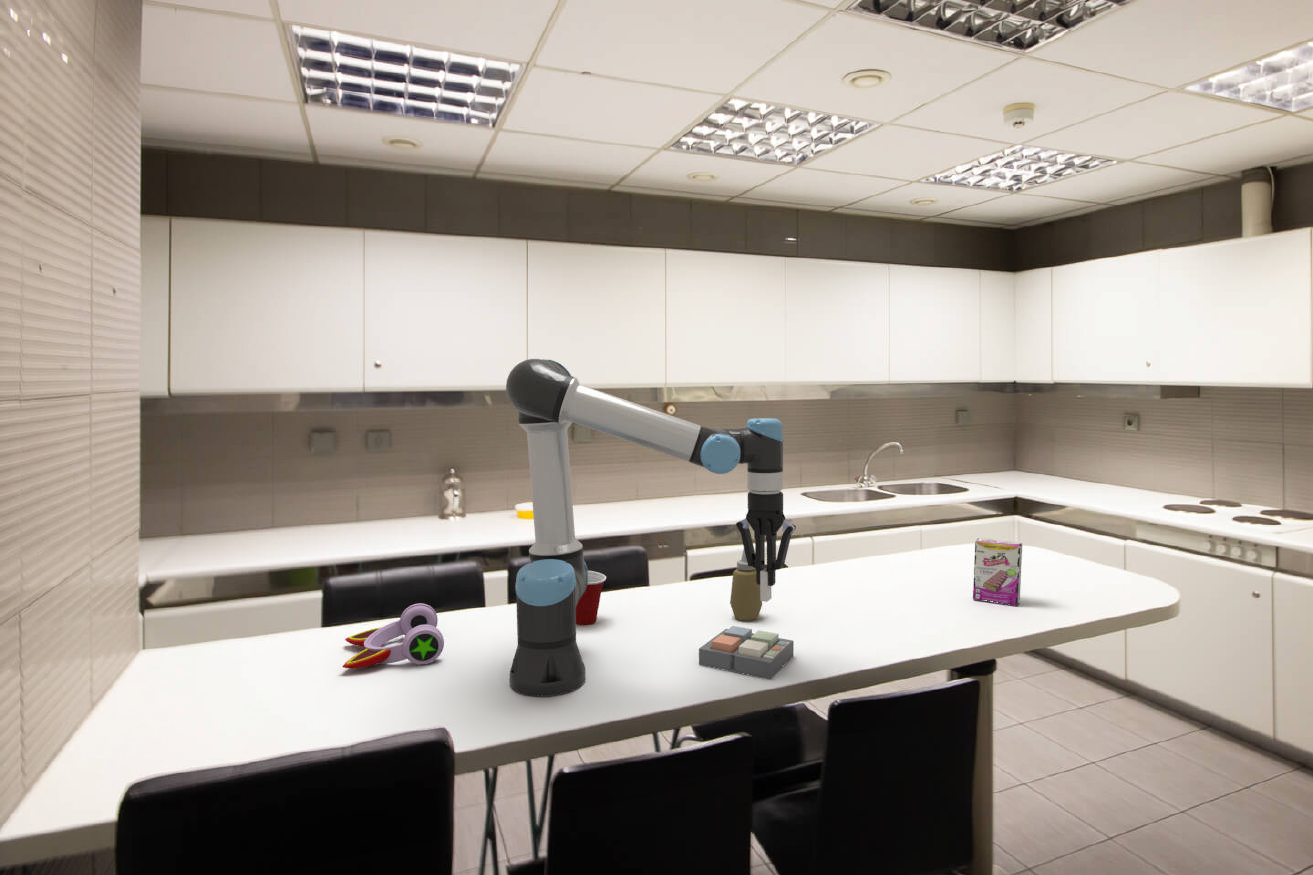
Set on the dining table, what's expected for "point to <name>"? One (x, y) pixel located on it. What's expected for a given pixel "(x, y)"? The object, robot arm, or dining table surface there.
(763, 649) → the key cream
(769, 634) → the key sage
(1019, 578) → the candy bar box
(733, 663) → the keypad
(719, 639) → the key terracotta
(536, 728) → the dining table surface
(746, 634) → the key slate
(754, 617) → the squeeze bottle
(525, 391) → the robot arm
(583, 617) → the plastic cup
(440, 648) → the headphones
